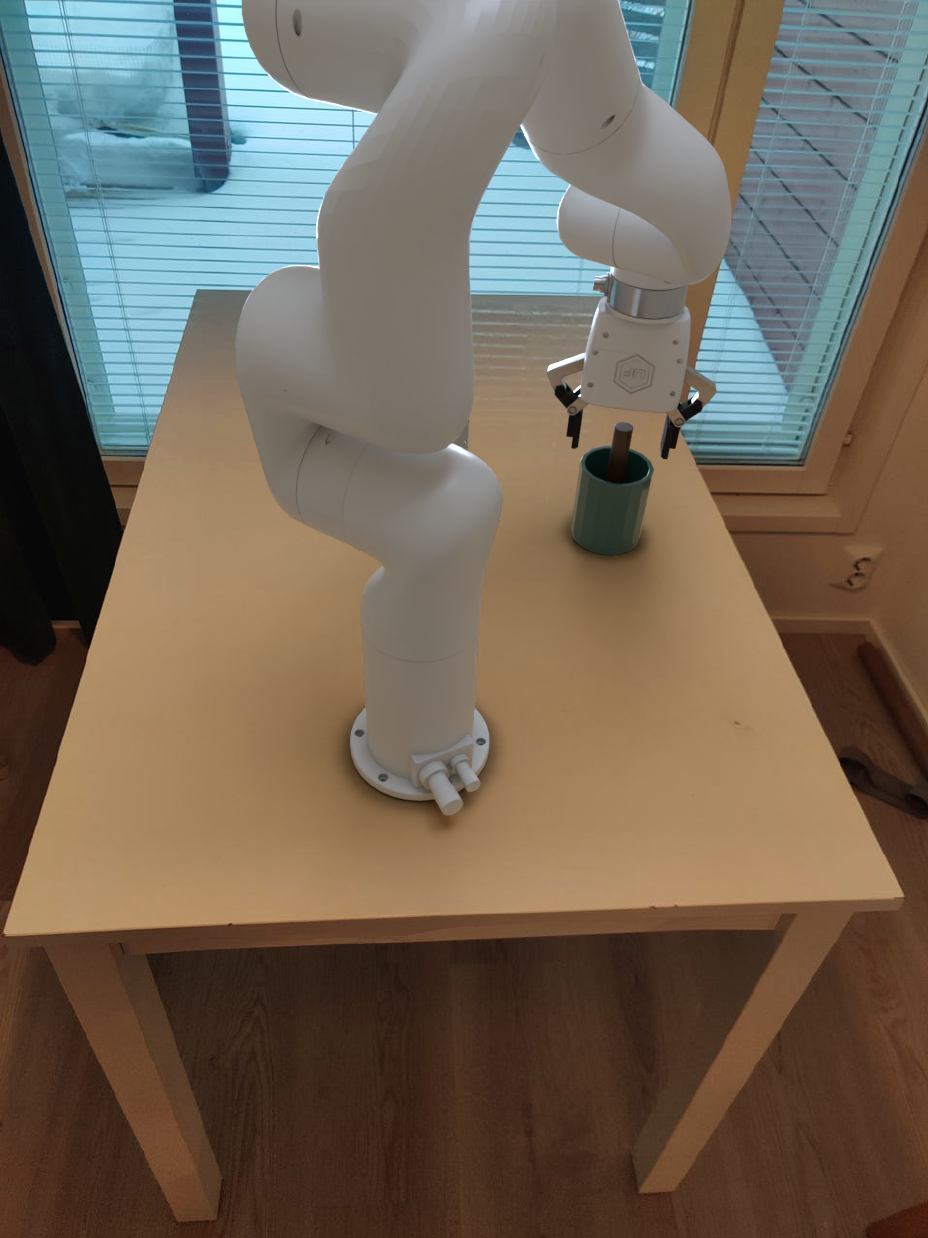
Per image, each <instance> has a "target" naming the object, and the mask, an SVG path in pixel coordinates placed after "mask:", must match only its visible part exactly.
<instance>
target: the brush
mask: <svg viewBox="0 0 928 1238" xmlns="http://www.w3.org/2000/svg"><path fill="white" fill-rule="evenodd" d="M633 433H634V426H633V425H632V424H631V423H629V422H626V421H620V422H619V421H618V422H616V423H615V424H614V427H613V433H612V440H611V445H610V446H611V451H610V457H609V463H608V469H607V475H606V482H611V483H616V484H623V482H624V477H625V471H626V466H627V461H628V455H629V450H630V449H631V443H632V440H633V439H632V438H633Z"/></svg>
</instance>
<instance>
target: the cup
mask: <svg viewBox="0 0 928 1238" xmlns="http://www.w3.org/2000/svg"><path fill="white" fill-rule="evenodd" d="M610 451H611V445H602V446H598V447H594V448H591V449H590V450H588V451H587V452H585V453H583V455H582V456H581V458H580V461H579V467H578V468H579V469H578V473H577V474H578V475H577V482H576V488H575V495H574V502H573V509H572V516H571V517H572V518H571V528H570V534H571V536H572V539H573V540H574V542H575V543H577V545H579V547H581V548H583V549H584V550H587V551H588V552H592V553H594V554H598V555H604V556H615V555H622V554H625V553H628V552H630V551H632V550H633V549H634V548H635V547H636V546H638V544H639V541H640V537H641V533H642V529H643V524H644V519H645V514H646V509H647V505H648V500H649V495H650V490H651V487H652V481H653V476H654V473H655V472H654V471H655V468H654V466H653V463H652V461H651V460H650V459H649V458H648V457H647V456H646V455H645V454H643V453H641V452H639V451H637V450H635V449H633V448H630V450H629V455H628V461H627V466H626V471H625V477H624V482H623V484H616V483H611V482H606V475H607V469H608V463H609V457H610Z"/></svg>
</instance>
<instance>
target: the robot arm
mask: <svg viewBox="0 0 928 1238" xmlns="http://www.w3.org/2000/svg"><path fill="white" fill-rule="evenodd" d="M241 16H242V23H243V27H244V32H245V36H246V39H247V42H248V45H249V47H250V49H251V51H252V53H253V56H254V57H255V59H256V61H257V62H258V64H259V65H260V67H261V68H262V69H263V71H264V72H265V73H266V74H267V76H268V77H269V78H270V79H271V80H273V81H274V82H275V83H276V84H277V85H278V86H279V87H281V88H282V89H284V90H286V91H287V92H288V93H291V94H293V95H295V96H297V97H300V98H302V99H307V100H309V101H313V102H317V103H321V104H322V103H324V104H327V105H333V106H337V107H341V108H345V109H349V110H354V111H359V112H363V113H367V114H372V115H375V117H374V119H373V120H372V122H371V123H370V125H369V127H368V128H367V129H366V131H365V132H364V133H363V135H362V137H361V138H360V139H359V141H358V142H357V144H356V145H355V146H354V148H353V149H352V151H351V152H350V154H349V155H348V157H347V158H346V159H345V161H344V162H343V163H342V165H341V166H340V168H338V170H337V172H336V174H335V175H334V176H333V178H332V179H331V181H330V183H329V185H328V187H327V189H326V191H325V194H324V195H323V198H322V201H321V203H320V206H319V209H318V214H317V218H316V225H315V236H316V237H315V238H316V253H317V260H318V266H316V265H315V266H313V265H308V264H307V265H306V264H295V265H294V264H293V265H287V266H284V267H281V268H277V269H275V270H273V271H271V272H270V273H268V274H267V275H265V276H264V277H263V278H262V279H261V280H259V281H258V283H257V284H256V285H255V286H254V287H253V289H252V290H251V291H250V293H249V295H248V297H247V298H246V299H245V302H244V305H243V307H242V310H241V312H240V316H239V319H238V323H237V329H236V335H235V340H234V341H235V343H234V363H235V364H234V365H235V372H236V376H237V382H238V386H239V390H240V395H241V399H242V401H243V405H244V408H245V412H246V416H247V419H248V423H249V426H250V429H251V433H252V436H253V439H254V443H255V447H256V450H257V454H258V458H259V461H260V464H261V468H262V470H263V474H264V478H265V480H266V483H267V486H268V488H269V491H270V493H271V495H272V497H273V498H274V500H275V503H277V505H278V507H280V509H281V510H282V511H283V512H284V513H286V515H288V516H289V517H290V518H291V519H294V520H295V521H296V522H299V523H301V524H302V525H305V526H307V527H308V528H311V529H312V530H314V531H317V532H319V533H321V534H324V535H326V536H328V537H330V538H333V539H335V540H337V541H339V542H342V543H344V544H346V545H348V546H351V547H353V548H354V549H355V550H358V551H359V552H362V553H365V554H367V555H369V556H371V557H372V558H374V559H376V560H377V561H378V562H379V563H380V564H381V566H379V568H378V569H377V570H376V571H375V572H373V574H372V575H371V576H370V577H369V579H368V580H367V582H366V584H365V586H364V588H363V590H362V593H361V597H360V604H359V605H360V606H359V607H360V608H359V615H360V628H361V631H360V632H361V647H362V665H363V667H362V668H363V683H364V684H363V685H364V702H365V703H364V704H365V707H364V708H363V709H362V711H361V712H360V713H359V714H358V715H357V717H356V718H355V721H354V722H353V724H352V727H351V731H350V735H349V749H350V756H351V760H352V762H353V766H354V767H355V769H356V771H357V772H358V773H359V775H360V777H361V778H362V779H363V780H364V781H366V782H367V783H368V784H369V785H370V786H371V787H373V788H374V789H376V790H378V791H379V792H380V793H383V794H386V795H388V796H391V797H392V798H396V799H402V800H405V801H417V802H418V801H419V802H421V801H433V800H435V802H436V804H437V806H438V808H439V810H440V811H441V813H442V814H443V815H444V816H452V815H455V814H456V813H458V812H459V811H460V810H461V809H462V808H463V806H464V801H463V799H462V797H461V796H460V794H459V792H461V790H463V789H465V791H466V792H467V793H473V792H475V791H477V790H478V789H479V788H480V787H481V785H482V783H481V781H480V779H479V776H480V774H481V773H482V771H483V769H484V768H485V767H486V764H487V761H488V758H489V751H490V733H489V728H488V725H487V723H486V721H485V719H484V717H483V715H482V714H481V713H480V712H479V711H478V709H477V708H476V707H475V706H476V694H477V678H478V677H477V676H478V661H479V646H480V645H479V644H480V633H481V632H480V631H481V616H482V603H483V594H484V593H483V592H484V584H485V578H486V571H487V568H488V563H489V559H490V555H491V552H492V548H493V544H494V541H495V538H496V534H497V531H498V528H499V525H500V521H501V516H502V509H503V501H504V499H503V496H504V495H503V490H502V489H503V488H502V486H501V483H500V480H499V478H498V476H497V474H496V473H495V472H494V471H493V469H492V468H491V467H490V466H489V465H488V464H487V463H486V462H485V461H484V460H482V459H481V458H480V457H478V456H477V455H476V454H474V453H473V452H470V451H469V450H468V449H467V450H468V451H467V450H465V449H463V448H462V447H459V446H457V445H455V444H453V443H454V442H455V441H456V440H457V439H458V438H459V436H460V435H461V434H462V432H463V430H464V429H465V427H466V425H467V423H468V420H469V421H470V417H471V413H472V410H473V405H474V395H475V357H474V335H473V315H472V314H473V313H472V312H473V311H472V292H471V290H472V289H471V272H470V271H471V268H470V266H471V265H470V261H471V259H470V257H471V255H470V254H471V253H470V251H471V235H472V231H473V226H474V222H475V218H476V215H477V212H478V211H479V208H480V204H481V202H482V200H483V197H484V195H485V193H486V191H487V190H488V187H489V185H490V183H491V182H492V179H493V177H494V175H495V173H496V172H497V169H498V167H499V166H500V163H501V161H502V160H503V158H504V157H505V154H506V153H507V151H508V150H509V147H510V146H511V143H512V142H513V140H514V139H515V136H516V135H517V132H518V130H519V129H520V130H521V131H522V134H523V135H524V137H525V139H526V141H527V143H528V145H529V147H530V149H531V152H532V153H533V155H534V156H535V158H536V159H537V160H538V162H539V163H540V164H541V165H542V166H543V167H544V168H545V169H546V170H547V171H548V172H550V173H551V174H553V175H554V176H556V177H557V178H559V179H560V180H562V181H564V182H565V183H567V184H569V185H568V187H567V188H566V190H565V191H564V193H563V195H562V198H561V199H560V202H559V204H558V205H559V206H558V209H557V214H556V230H557V234H558V236H559V239H560V241H561V243H562V245H563V246H564V247H565V249H567V250H568V251H569V252H570V253H571V254H573V255H575V256H577V257H579V258H581V259H583V260H586V261H589V262H593V263H597V264H600V265H603V266H608V267H610V270H609V272H606V275H603V274H602V275H601V276H599V275H598V276H597V275H594V277H593V284H592V285H593V286H592V291H595V292H599V293H600V294H601V293H602V294H603V297H602V298H600V300H599V301H598V302H599V303H598V305H597V307H596V310H595V312H594V315H593V319H592V322H591V326H590V329H589V330H590V331H589V335H588V338H587V343H586V348H585V352H583V353H580V354H577V355H574V356H572V357H569V358H565V359H563V360H560V361H558V362H555V363H551V364H549V366H548V367H547V372H546V376H547V378H548V380H549V383H550V386H551V388H552V389H553V392H554V397H556V398H557V400H558V401H559V402H560V403H561V404H562V405H563V407H564V408H565V409H566V412H567V414H568V420H567V427H566V435H565V436H566V438H571V446H570V447H571V448H570V449H573V450H574V449H575V450H576V449H579V445H580V444H579V443H580V436H581V429H582V421H583V416H584V415H583V413H584V408H586V407H587V406H588V405H590V406H593V407H598V408H606V409H614V410H615V409H616V410H622V411H623V410H625V411H633V412H640V413H641V412H642V413H652V414H666V416H665V421H664V426H663V430H662V434H661V440H660V458H662V460H668V458H669V454H670V449H672V450H676V448H677V445H678V439H679V435H680V431H681V428H682V427H684V426H685V424H686V422H687V421H688V420H690V419H692V418H694V417H695V416H697V415H698V414H700V413H701V412H703V408H704V407H705V406H706V405H707V404H709V402H710V401H711V400H712V399H713V398H714V396H716V394H717V392H718V390H717V383H715V381H713V380H712V379H710V378H708V377H706V376H705V375H704V374H702V373H701V372H699V371H697V370H696V369H695V368H693V367H692V366H690V365H688V364H687V363H688V356H689V350H690V342H691V325H692V323H691V321H692V320H691V319H692V318H691V313H690V310H689V308H688V307H687V306H686V300H687V296H688V292H689V291H688V290H689V286H690V285H695V284H699V283H702V282H703V281H704V280H706V279H707V278H709V277H710V276H711V275H712V274H713V273H714V272H715V270H716V269H717V268H718V267H719V265H720V264H721V262H722V260H723V258H724V256H725V254H726V250H727V248H728V244H729V241H730V237H731V236H730V235H731V230H732V202H731V193H730V188H729V184H728V178H727V174H726V169H725V165H724V163H723V161H722V158H721V156H720V155H719V153H718V151H717V150H716V148H714V146H713V144H712V143H711V142H710V141H709V140H708V139H707V138H706V137H705V136H704V135H703V133H701V132H700V131H699V130H698V129H697V128H696V127H695V126H694V125H693V124H692V123H690V122H688V120H686V118H684V117H683V116H682V115H681V114H680V113H679V112H678V111H677V110H676V109H675V108H673V107H672V106H671V105H670V104H669V103H668V102H667V101H666V100H664V99H663V98H662V97H661V96H660V95H659V94H657V93H656V92H655V91H654V90H653V89H651V88H649V87H648V86H646V85H645V84H644V83H643V81H642V77H641V74H640V73H641V72H640V70H639V69H640V68H639V66H638V62H637V60H636V57H635V53H634V49H633V46H632V43H631V39H630V35H629V33H628V29H627V25H626V21H625V17H624V15H623V11H622V7H621V3H620V0H241ZM579 372H581V377H580V385H579V386H578V387H576V388H575V389H574V390H573V389H572V387H570V385H568V383H567V382H566V381H565V377H567V376H570V375H573V374H576V373H579ZM684 384H687V385H688V386H690V387H691V388H692V389H694V390H695V391H697V392H696V393H695V394H694V395H693V396H692V397H690V398H688V399H687V400H684V401H683V402H681V396H682V392H683V387H684Z"/></svg>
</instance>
